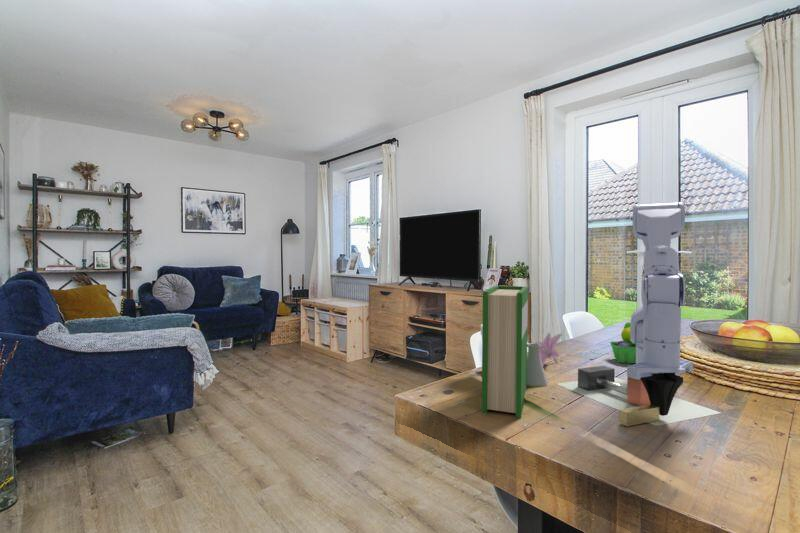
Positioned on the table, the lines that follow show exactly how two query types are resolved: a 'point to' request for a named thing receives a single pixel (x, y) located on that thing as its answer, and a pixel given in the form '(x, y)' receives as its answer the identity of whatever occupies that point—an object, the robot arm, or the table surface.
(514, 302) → the hardback book
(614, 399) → the board
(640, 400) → the mallet
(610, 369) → the eye bracket
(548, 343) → the lily
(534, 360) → the flask
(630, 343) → the fruit basket
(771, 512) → the table surface
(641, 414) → the keeper bar
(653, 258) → the robot arm
